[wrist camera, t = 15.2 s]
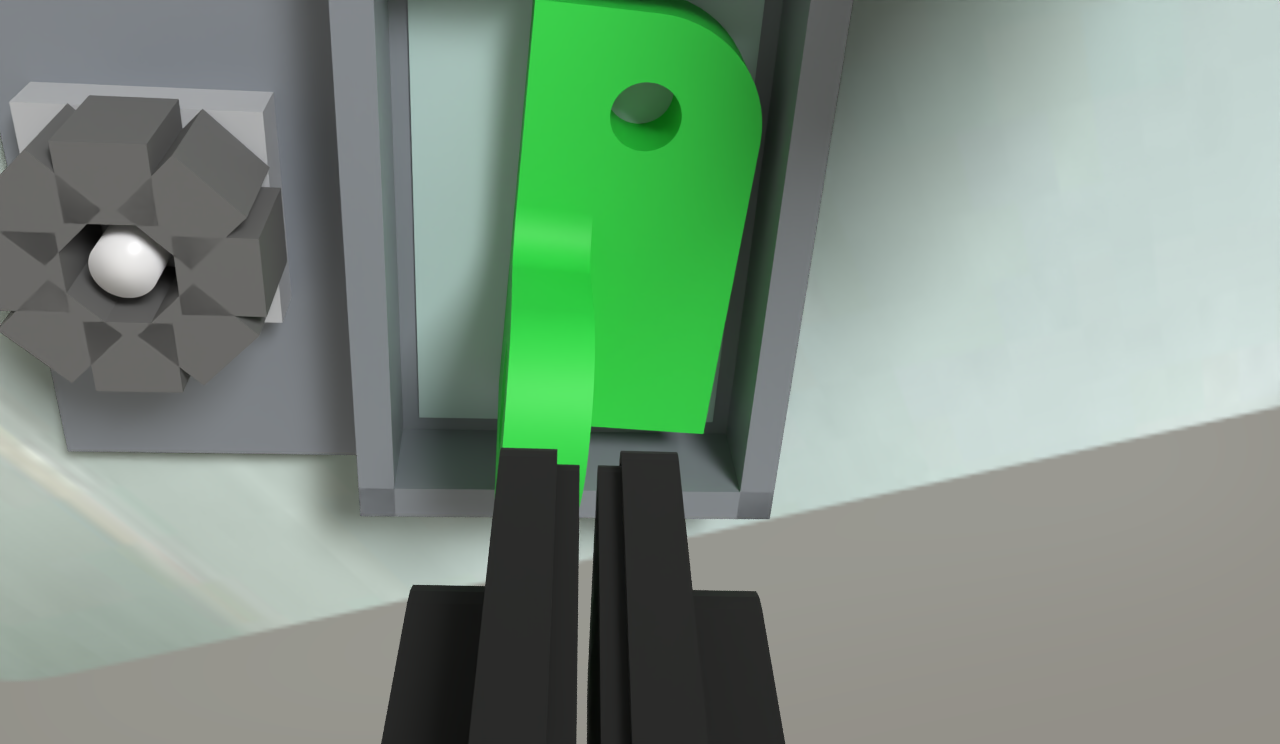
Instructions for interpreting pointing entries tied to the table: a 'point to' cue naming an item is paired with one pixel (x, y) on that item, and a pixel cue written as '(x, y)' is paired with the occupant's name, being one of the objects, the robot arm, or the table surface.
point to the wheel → (164, 210)
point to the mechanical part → (623, 224)
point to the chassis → (416, 230)
